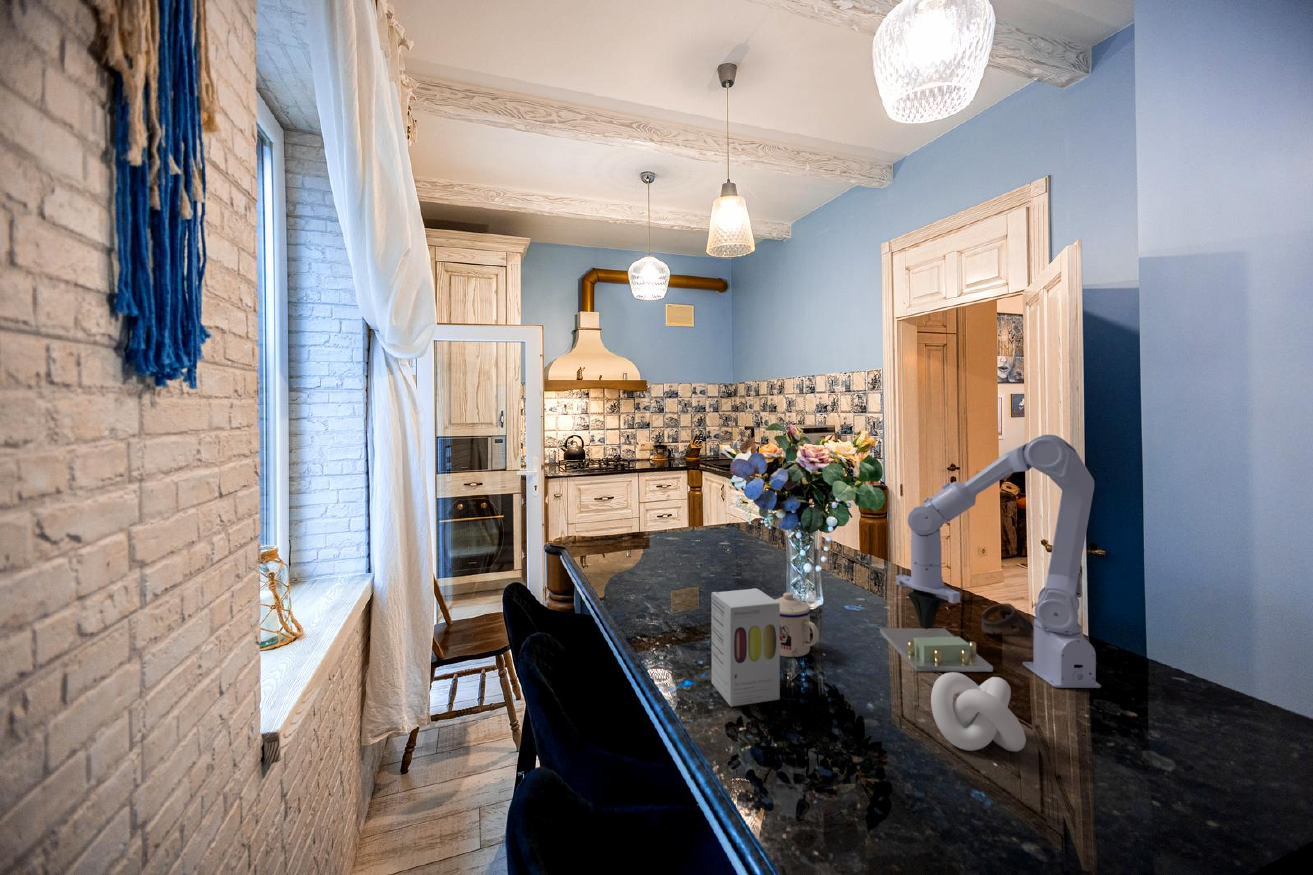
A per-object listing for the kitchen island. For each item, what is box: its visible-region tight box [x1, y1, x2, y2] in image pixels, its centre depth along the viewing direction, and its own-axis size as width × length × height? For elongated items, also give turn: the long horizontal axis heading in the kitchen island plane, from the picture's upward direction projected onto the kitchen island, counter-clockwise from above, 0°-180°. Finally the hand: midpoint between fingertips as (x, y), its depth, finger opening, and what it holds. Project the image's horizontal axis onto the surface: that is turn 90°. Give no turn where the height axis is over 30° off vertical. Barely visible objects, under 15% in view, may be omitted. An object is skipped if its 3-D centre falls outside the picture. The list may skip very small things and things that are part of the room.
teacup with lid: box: [774, 592, 820, 658], centre depth 114 cm, size 12×9×12 cm
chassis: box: [879, 627, 994, 673], centre depth 113 cm, size 19×14×4 cm
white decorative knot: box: [930, 672, 1027, 752], centre depth 82 cm, size 11×12×9 cm
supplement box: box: [711, 587, 781, 708], centre depth 98 cm, size 10×9×17 cm
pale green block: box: [914, 636, 970, 661], centre depth 108 cm, size 4×9×3 cm, turn 91°
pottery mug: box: [980, 603, 1034, 644], centre depth 120 cm, size 12×10×8 cm
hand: (926, 627), depth 116 cm, fingers closed
